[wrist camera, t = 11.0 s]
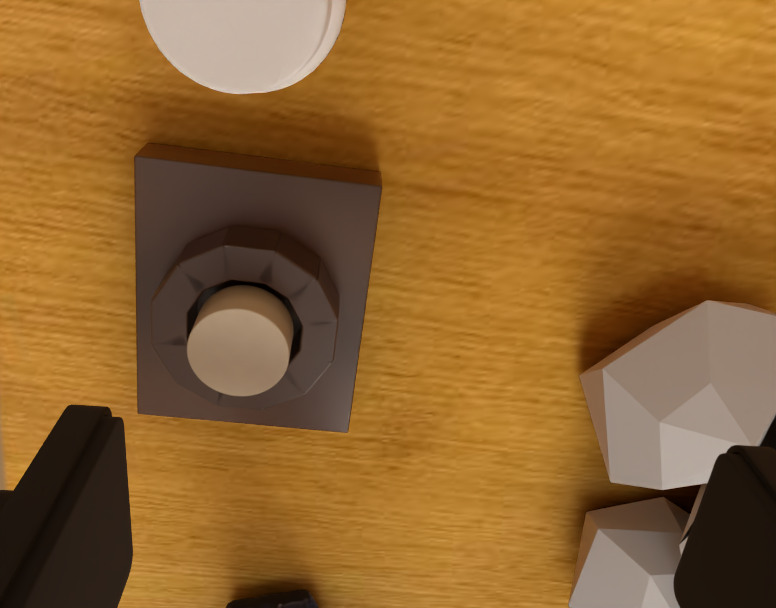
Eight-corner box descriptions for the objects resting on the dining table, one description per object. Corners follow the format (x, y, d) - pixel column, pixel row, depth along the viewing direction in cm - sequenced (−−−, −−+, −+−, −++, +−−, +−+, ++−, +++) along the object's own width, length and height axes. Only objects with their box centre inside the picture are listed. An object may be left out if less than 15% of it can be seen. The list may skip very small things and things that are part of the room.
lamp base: (147, 142, 25) (117, 171, 22) (381, 171, 26) (384, 203, 23) (148, 389, 29) (123, 443, 26) (348, 408, 30) (347, 463, 27)
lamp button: (198, 279, 24) (187, 303, 22) (297, 290, 24) (293, 314, 23) (196, 363, 25) (185, 391, 24) (289, 372, 26) (285, 401, 24)
